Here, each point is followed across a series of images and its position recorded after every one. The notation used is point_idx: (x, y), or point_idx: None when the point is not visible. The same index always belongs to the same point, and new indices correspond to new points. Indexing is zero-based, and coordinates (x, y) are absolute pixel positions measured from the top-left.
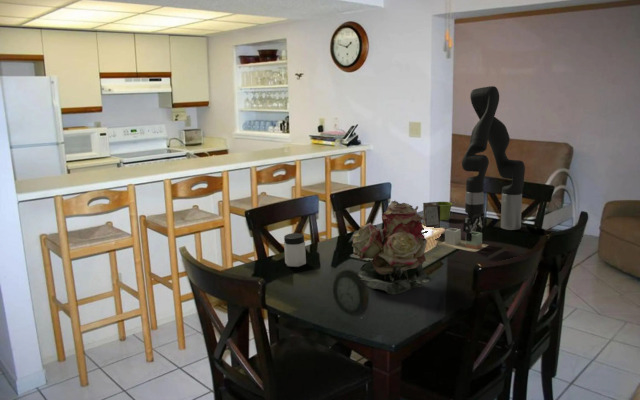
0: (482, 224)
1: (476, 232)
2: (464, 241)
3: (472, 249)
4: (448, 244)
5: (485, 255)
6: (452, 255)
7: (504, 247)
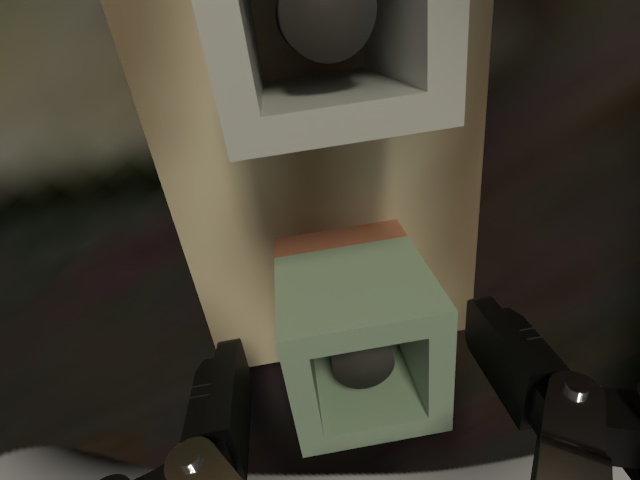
0: (625, 459)
1: (432, 385)
2: None
3: (264, 318)
4: None
5: (273, 395)
6: (35, 248)
7: None
